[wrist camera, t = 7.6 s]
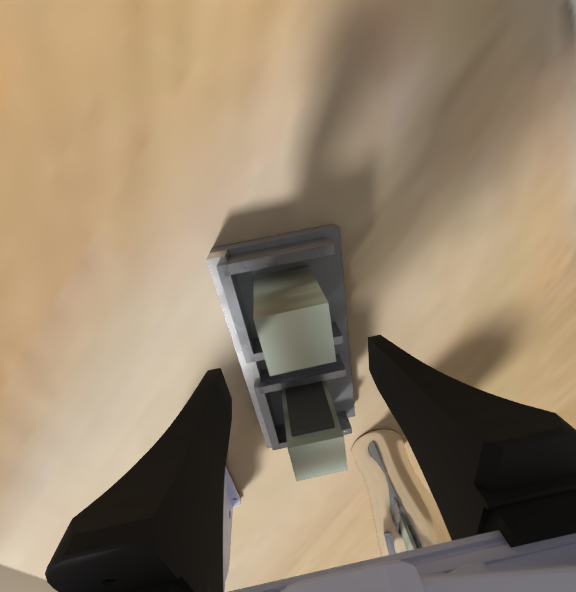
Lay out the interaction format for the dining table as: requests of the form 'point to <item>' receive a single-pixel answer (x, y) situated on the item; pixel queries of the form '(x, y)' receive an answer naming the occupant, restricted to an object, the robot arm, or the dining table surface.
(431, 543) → the beer glass
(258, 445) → the dining table surface
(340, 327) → the grey slotted rack
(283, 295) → the sage green rectangular prism
